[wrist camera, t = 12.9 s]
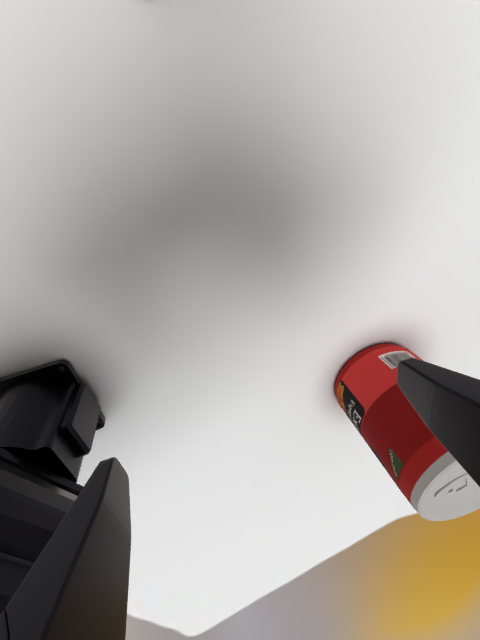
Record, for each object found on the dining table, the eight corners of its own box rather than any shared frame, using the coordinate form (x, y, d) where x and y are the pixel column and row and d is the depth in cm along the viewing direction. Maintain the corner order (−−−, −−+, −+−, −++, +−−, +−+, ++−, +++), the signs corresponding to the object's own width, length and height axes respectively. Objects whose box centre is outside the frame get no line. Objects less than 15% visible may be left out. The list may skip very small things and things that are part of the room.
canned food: (316, 382, 28) (398, 501, 18) (388, 323, 26) (518, 418, 17) (356, 420, 31) (442, 534, 22) (421, 369, 30) (543, 468, 20)
